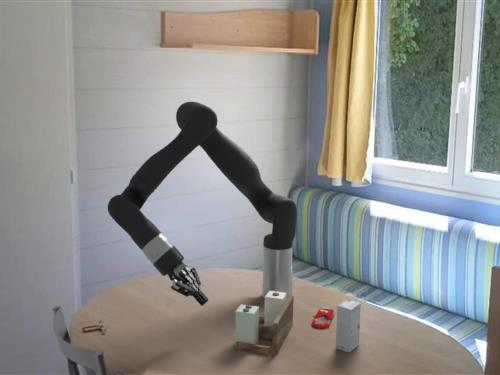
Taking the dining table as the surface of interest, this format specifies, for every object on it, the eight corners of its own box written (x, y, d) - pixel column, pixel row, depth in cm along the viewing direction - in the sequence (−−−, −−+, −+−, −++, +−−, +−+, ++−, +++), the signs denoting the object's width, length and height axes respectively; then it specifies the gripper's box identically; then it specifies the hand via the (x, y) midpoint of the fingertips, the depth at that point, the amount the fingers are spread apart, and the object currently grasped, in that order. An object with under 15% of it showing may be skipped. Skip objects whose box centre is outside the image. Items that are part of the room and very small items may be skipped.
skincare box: (349, 353, 167) (352, 310, 165) (334, 348, 170) (336, 305, 167) (359, 344, 172) (362, 302, 170) (344, 340, 175) (347, 298, 172)
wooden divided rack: (221, 351, 167) (221, 315, 165) (242, 322, 185) (242, 290, 183) (276, 359, 163) (277, 323, 161) (292, 329, 181) (293, 296, 179)
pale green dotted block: (235, 346, 167) (235, 310, 165) (240, 339, 171) (241, 303, 169) (253, 349, 165) (254, 312, 163) (258, 341, 170) (259, 305, 168)
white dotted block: (264, 330, 177) (264, 295, 175) (268, 323, 181) (269, 289, 179) (281, 333, 175) (282, 297, 173) (285, 326, 180) (286, 291, 178)
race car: (327, 336, 178) (328, 322, 177) (308, 333, 180) (309, 319, 179) (336, 317, 190) (337, 305, 189) (318, 315, 192) (319, 302, 191)
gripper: (161, 253, 163) (206, 304, 162) (181, 239, 175) (223, 286, 174) (142, 270, 165) (186, 320, 165) (163, 255, 178) (204, 302, 177)
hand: (205, 303), depth 169 cm, fingers closed
